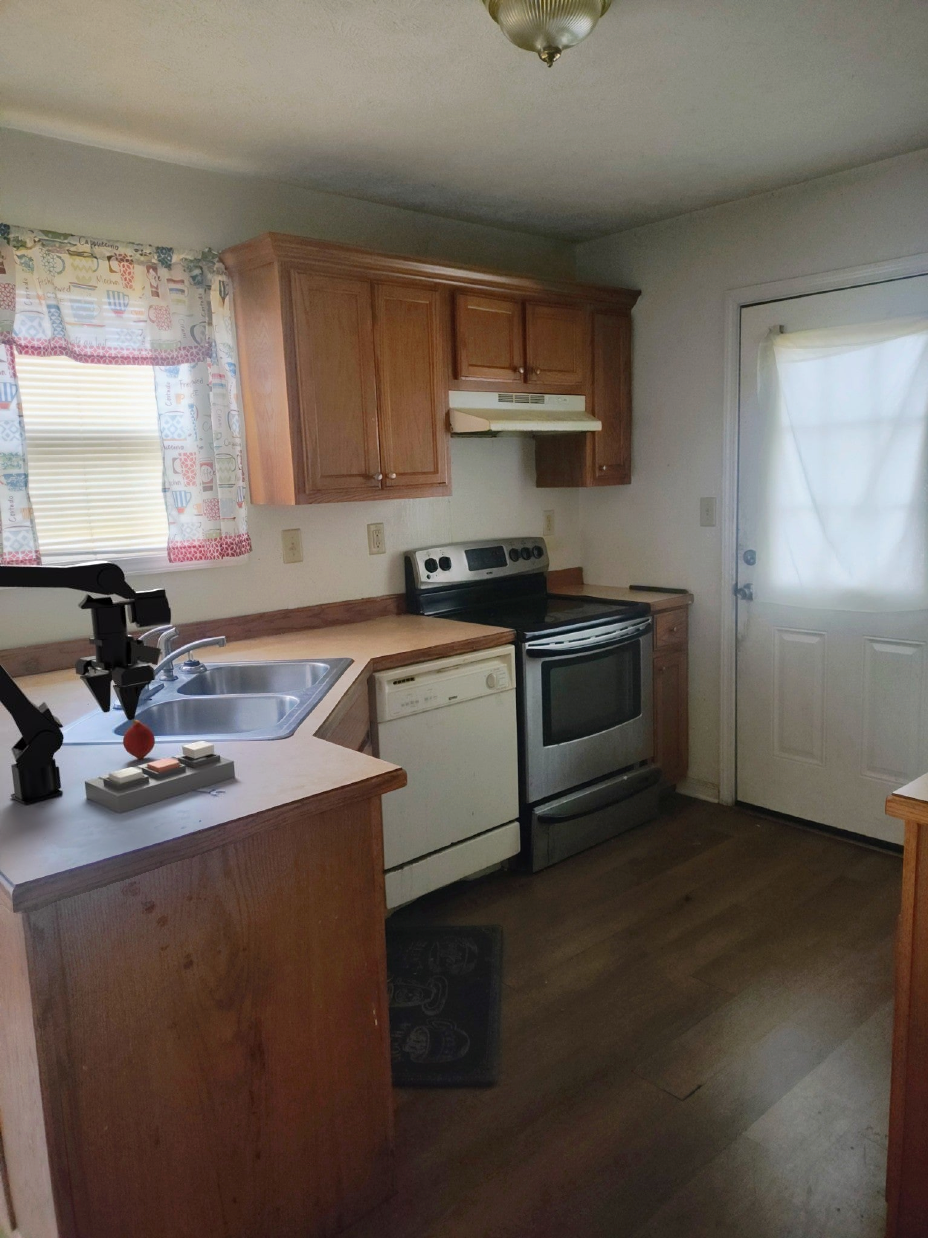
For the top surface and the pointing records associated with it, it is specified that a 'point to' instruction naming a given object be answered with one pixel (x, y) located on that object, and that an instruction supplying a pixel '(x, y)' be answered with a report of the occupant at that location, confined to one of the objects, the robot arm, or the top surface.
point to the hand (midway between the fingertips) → (118, 715)
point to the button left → (125, 775)
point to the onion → (138, 740)
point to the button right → (198, 749)
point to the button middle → (163, 765)
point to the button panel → (159, 782)
